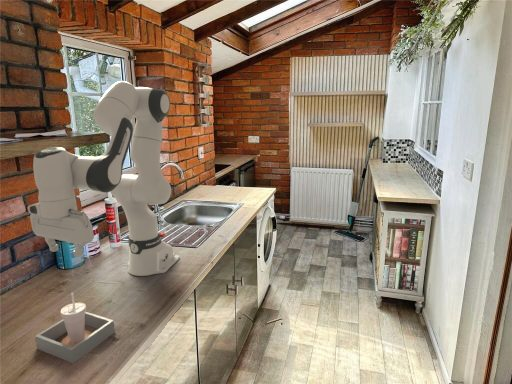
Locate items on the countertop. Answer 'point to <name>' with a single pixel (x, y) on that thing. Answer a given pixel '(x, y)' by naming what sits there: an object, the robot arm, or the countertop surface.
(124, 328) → the countertop surface
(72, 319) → the smoothie
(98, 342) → the grey open tray
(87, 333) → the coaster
